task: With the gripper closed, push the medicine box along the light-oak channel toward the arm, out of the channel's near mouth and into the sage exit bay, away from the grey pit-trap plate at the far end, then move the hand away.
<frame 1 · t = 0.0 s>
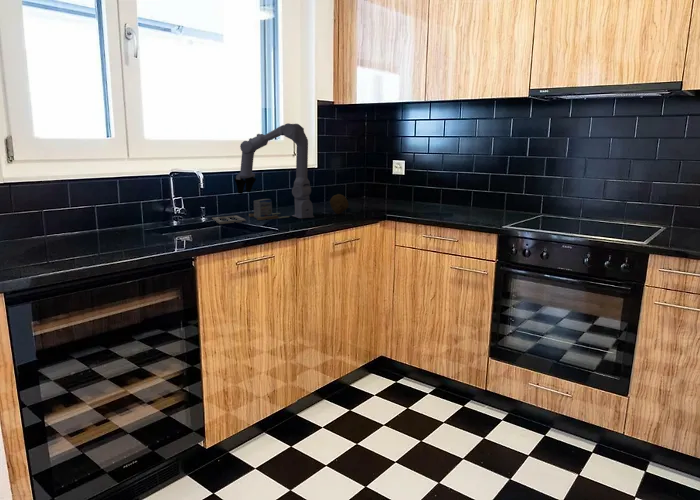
hand: (244, 192, 249), 11 cm above the worktop, tool pointing down, fingers open, 7 cm apart
exit bay: (279, 215, 244), on the worktop
medicine box: (263, 217, 240), on the worktop
channel rails: (263, 217, 240), on the worktop
natural sponge: (339, 214, 248), on the worktop
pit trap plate: (228, 220, 231), on the worktop
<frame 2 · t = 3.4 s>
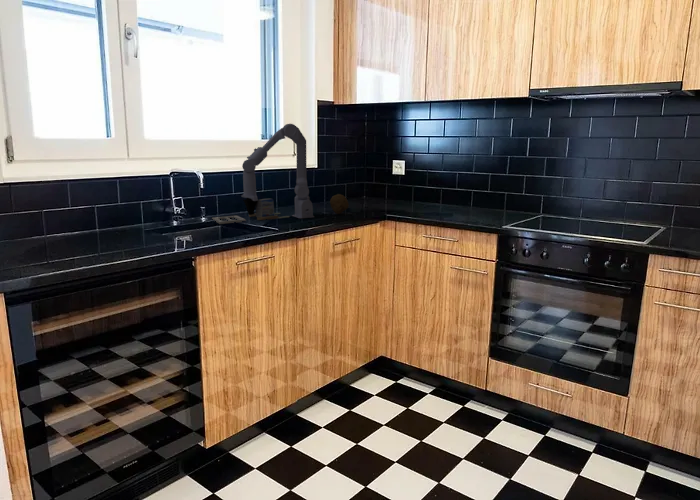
hand: (250, 214, 236), 2 cm above the worktop, tool pointing down, fingers closed
medicine box: (265, 217, 240), on the worktop, touching gripper
everything else where it was.
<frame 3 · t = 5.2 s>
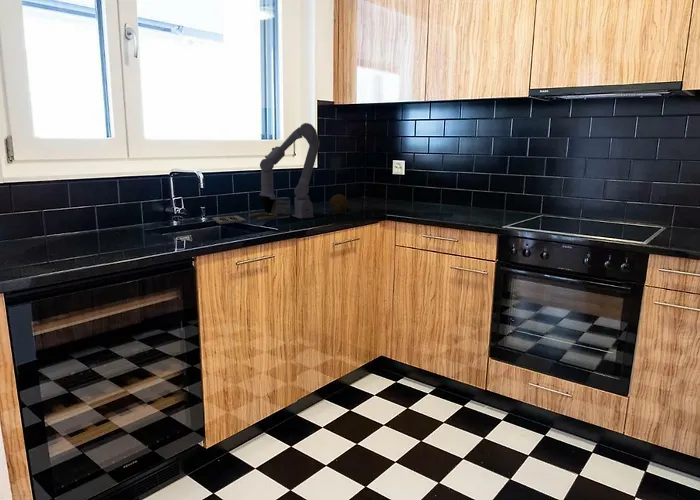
hand: (268, 212, 241), 2 cm above the worktop, tool pointing down, fingers closed
medicine box: (281, 215, 244), on the worktop, touching gripper
everything else where it was.
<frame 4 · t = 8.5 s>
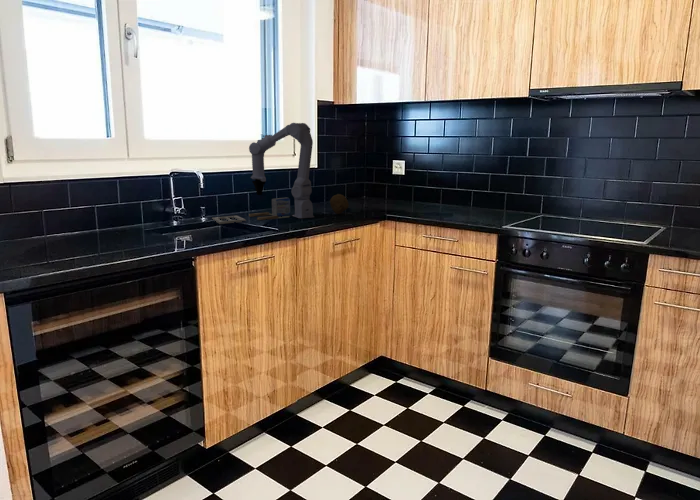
hand: (259, 194, 249), 9 cm above the worktop, tool pointing down, fingers closed
medicine box: (281, 216, 244), on the worktop
everything else where it was.
at the end: medicine box inside the target area (0.9 cm from its centre), on the worktop; medicine box tilted 0°; medicine box moved 9.4 cm from its start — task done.
